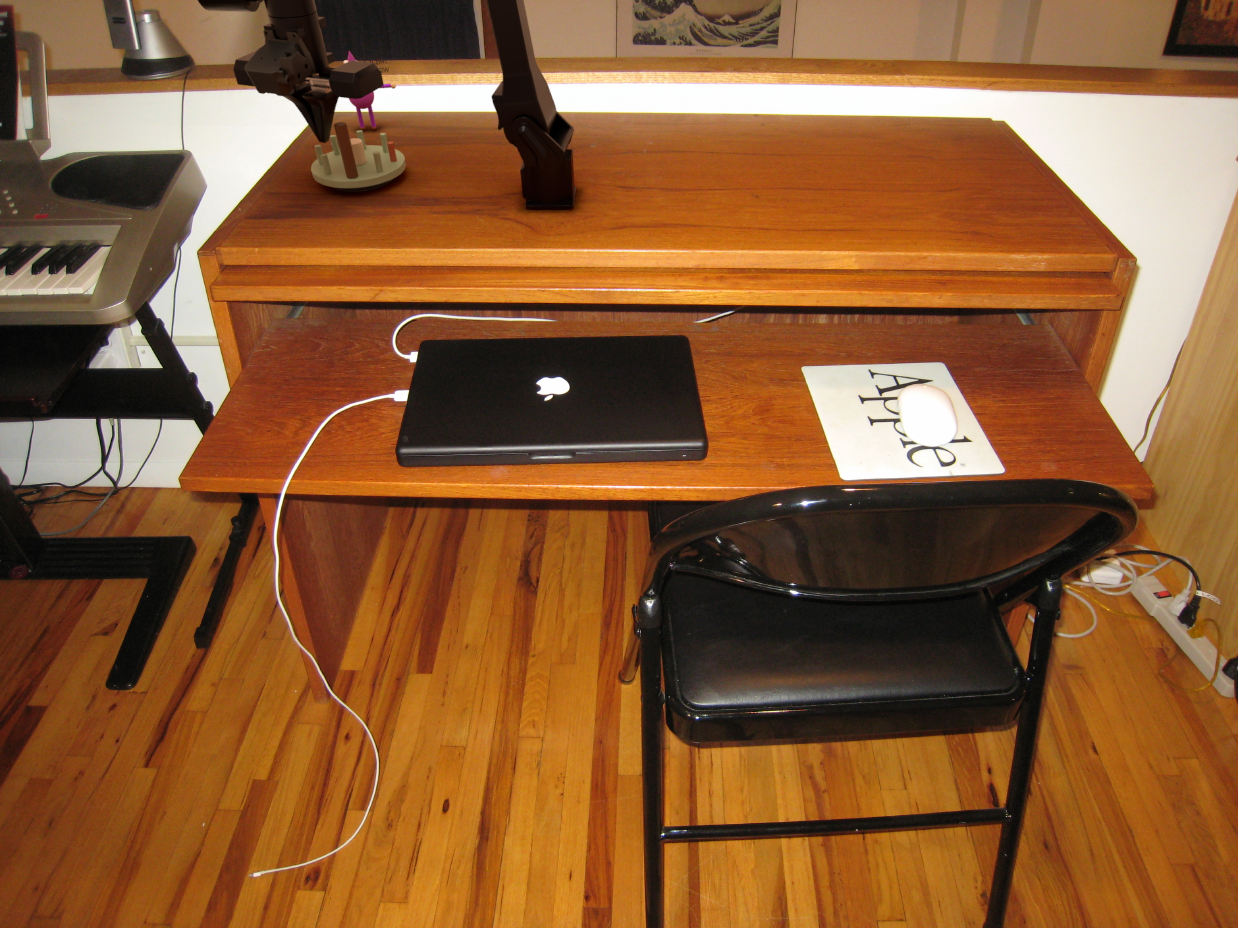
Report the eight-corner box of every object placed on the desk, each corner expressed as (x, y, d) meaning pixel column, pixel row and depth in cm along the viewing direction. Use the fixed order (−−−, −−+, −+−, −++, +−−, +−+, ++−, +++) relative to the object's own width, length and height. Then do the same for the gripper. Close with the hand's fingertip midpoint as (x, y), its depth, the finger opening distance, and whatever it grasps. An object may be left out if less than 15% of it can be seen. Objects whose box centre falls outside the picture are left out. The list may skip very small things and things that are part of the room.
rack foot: (400, 166, 121) (398, 159, 120) (385, 192, 114) (383, 184, 113) (339, 166, 121) (338, 159, 120) (321, 192, 114) (319, 184, 113)
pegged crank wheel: (322, 154, 121) (307, 97, 115) (410, 150, 122) (400, 93, 116) (304, 190, 111) (287, 130, 106) (400, 186, 112) (388, 126, 106)
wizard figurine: (403, 125, 133) (389, 45, 125) (403, 132, 131) (388, 51, 123) (333, 130, 132) (313, 50, 124) (331, 137, 130) (311, 56, 122)
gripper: (183, 23, 96) (227, 155, 106) (318, 37, 91) (350, 174, 101) (245, 0, 103) (280, 126, 114) (372, 12, 99) (397, 142, 109)
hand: (324, 141), depth 109 cm, fingers closed
